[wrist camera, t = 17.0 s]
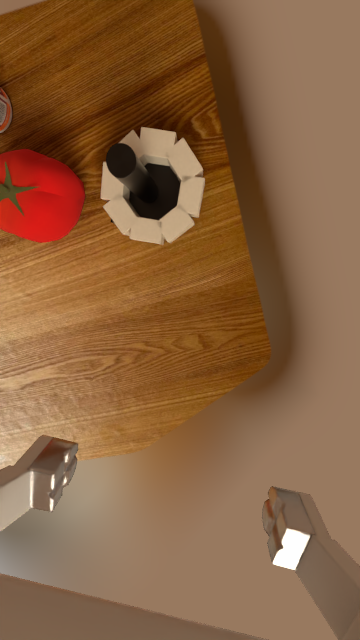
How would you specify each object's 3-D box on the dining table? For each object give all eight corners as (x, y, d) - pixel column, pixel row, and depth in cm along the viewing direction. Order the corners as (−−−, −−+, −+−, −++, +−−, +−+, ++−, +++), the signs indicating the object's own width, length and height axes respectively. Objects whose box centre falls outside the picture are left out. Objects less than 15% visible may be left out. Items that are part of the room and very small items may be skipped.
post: (189, 161, 35) (181, 107, 22) (176, 235, 37) (163, 225, 25) (120, 149, 35) (73, 89, 22) (113, 223, 38) (67, 207, 25)
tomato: (109, 221, 38) (76, 210, 28) (43, 257, 40) (-8, 258, 30) (72, 147, 35) (23, 105, 26) (5, 189, 38) (-64, 166, 28)
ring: (211, 147, 33) (211, 137, 30) (193, 249, 36) (192, 249, 34) (114, 132, 33) (105, 121, 31) (106, 234, 37) (97, 233, 34)
